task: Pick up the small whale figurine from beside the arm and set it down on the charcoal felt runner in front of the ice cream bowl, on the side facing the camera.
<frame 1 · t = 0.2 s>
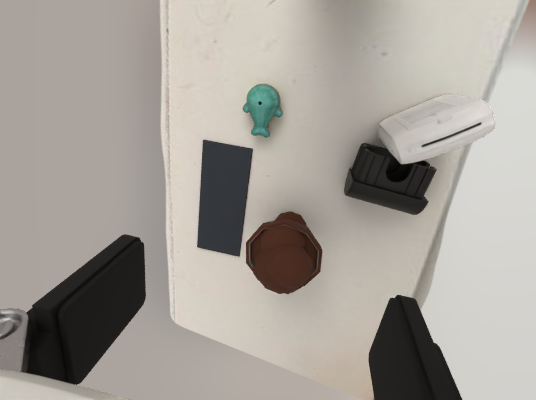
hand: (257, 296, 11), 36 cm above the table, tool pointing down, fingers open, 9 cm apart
whale figurine: (264, 110, 44), on the table
ice cream bowl: (290, 226, 51), on the table
photo printer: (414, 120, 42), on the table
runner: (222, 201, 51), on the table
end cap: (382, 172, 45), on the table
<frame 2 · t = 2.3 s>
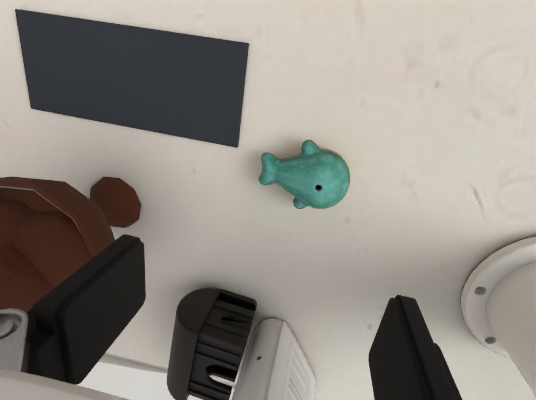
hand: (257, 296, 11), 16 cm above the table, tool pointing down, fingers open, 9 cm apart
whale figurine: (304, 170, 26), on the table
ice cream bowl: (117, 201, 31), on the table
photo printer: (286, 350, 34), on the table
runner: (129, 79, 26), on the table
end cap: (220, 319, 34), on the table
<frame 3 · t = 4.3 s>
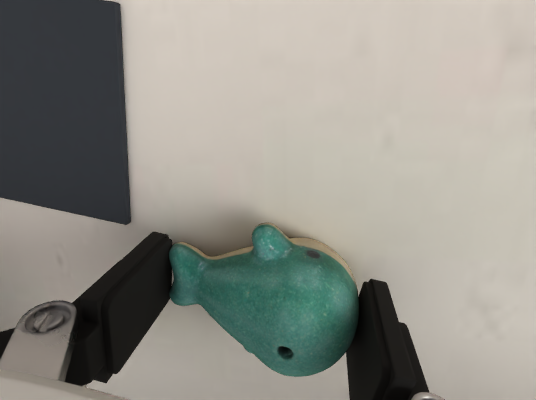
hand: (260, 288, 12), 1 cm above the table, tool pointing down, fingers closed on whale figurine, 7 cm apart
whale figurine: (265, 268, 13), on the table, touching gripper
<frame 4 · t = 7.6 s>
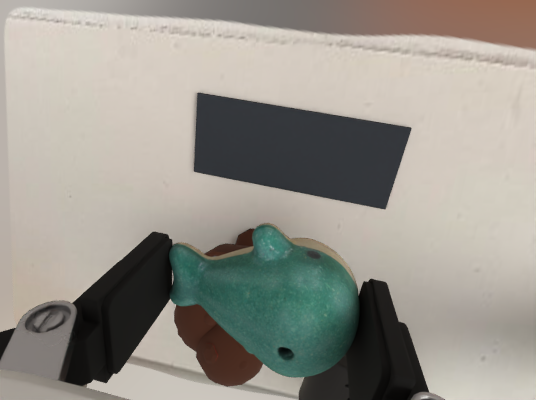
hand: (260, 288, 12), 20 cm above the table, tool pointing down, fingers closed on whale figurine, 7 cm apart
whale figurine: (265, 269, 13), point 19 cm above the table, touching gripper
ice cream bowl: (258, 249, 35), on the table
runner: (292, 151, 30), on the table
end cap: (338, 349, 38), on the table
when the fingers open (1 cm above the table, at t = 10.8 s): whale figurine stays where it is, resting on runner.
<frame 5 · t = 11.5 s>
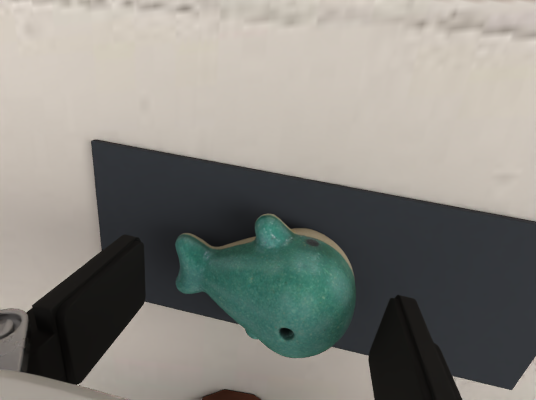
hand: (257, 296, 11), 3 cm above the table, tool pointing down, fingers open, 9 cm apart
whale figurine: (267, 259, 13), resting on runner
runner: (310, 267, 13), on the table
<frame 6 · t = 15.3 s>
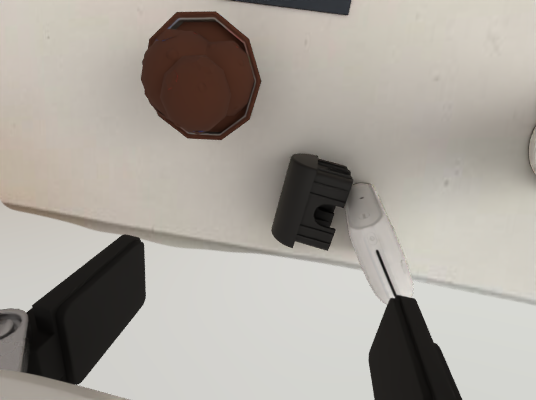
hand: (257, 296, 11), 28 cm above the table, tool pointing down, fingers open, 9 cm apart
ice cream bowl: (230, 79, 36), on the table
photo printer: (368, 216, 39), on the table
end cap: (310, 191, 39), on the table
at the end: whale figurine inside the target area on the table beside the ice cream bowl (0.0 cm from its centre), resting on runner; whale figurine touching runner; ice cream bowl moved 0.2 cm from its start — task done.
